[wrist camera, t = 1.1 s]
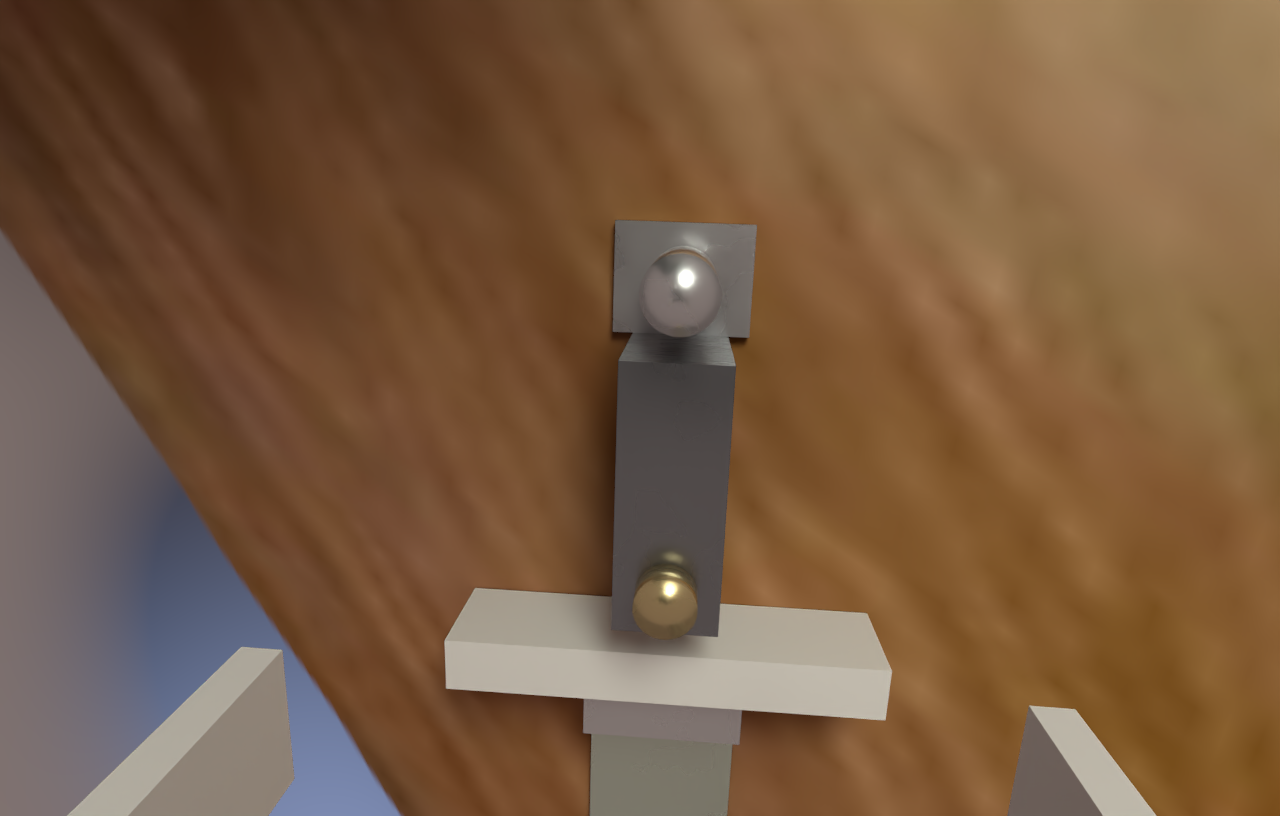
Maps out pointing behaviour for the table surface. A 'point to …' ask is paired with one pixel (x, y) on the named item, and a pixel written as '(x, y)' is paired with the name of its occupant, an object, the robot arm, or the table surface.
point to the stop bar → (671, 483)
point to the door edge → (669, 656)
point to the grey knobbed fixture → (683, 278)
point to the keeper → (659, 758)
